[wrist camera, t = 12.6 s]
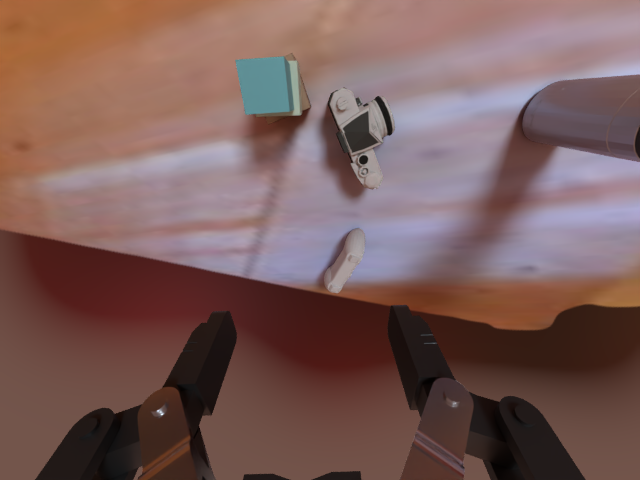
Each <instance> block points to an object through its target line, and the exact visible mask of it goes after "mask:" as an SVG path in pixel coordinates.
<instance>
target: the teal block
mask: <svg viewBox="0 0 640 480" xmlns="http://www.w3.org/2000/svg"><path fill="white" fill-rule="evenodd" d="M235 61H236V66H237V71H238V77H239V82H240V87H241V93H242V98H243V103H244V109H245V114H246V115H247V114H262V113H277V112H290V111H293V110H294V102H293V92H292V82H291V71H290V64H289V62H288V61H287V60H286V59H285V57H284V56H283V57H269V58H255V59H241V60H235Z"/></svg>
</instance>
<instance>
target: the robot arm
mask: <svg viewBox="0 0 640 480" xmlns="http://www.w3.org/2000/svg"><path fill="white" fill-rule="evenodd" d="M522 127H523V132H524V134H525V136H526V137H527V138H528V139H530V140H532V141H534V142H539V143H544V144H549V145H554V146H559V147H564V148H569V149H574V150H579V151H584V152H590V153H595V154H600V155H605V156H610V157H615V158H621V159H626V160H632V161H637V162H640V75H627V76H615V77H602V78H588V79H575V80H563V81H558V82H555V83H553V84H550V85H548V86H547V87H545V88H544V89H542V90H541V91H540V92H539V93H538V94H537V95H536V96H535V97H534V98H533V99H532V101H531V102H530V104H529V105H528V107H527V109H526V111H525V114H524V117H523V124H522ZM388 337H389V341H390V344H391V347H392V351H393V354H394V358H395V361H396V364H397V368H398V371H399V374H400V377H401V381H402V385H403V388H404V391H405V394H406V398H407V401H408V405H409V408H410V410H418V411H419V414H420V417H421V420H420V423H419V426H418V429H417V432H416V434H415V437H414V440H413V443H412V446H411V449H410V452H409V455H408V457H407V460H406V463H405V466H404V469H403V472H402V475H401V478H400V480H463V479H464V467H463V460H464V455H465V453H466V454H469V455H472V456H475V457H477V458H480V459H483V462H484V464H485V467H486V469H487V472H488V474H489V476H490V479H491V480H585V478H584V477H583V475H582V474H581V472H580V471H579V469H578V468H577V466H576V465H575V463H574V462H573V460H572V458H571V457H570V455H569V454H568V453H567V451H566V449H565V448H564V446H563V445H562V444H561V442H560V440H559V439H558V437H557V436H556V434H555V433H554V431H553V430H552V428H551V427H550V425H549V424H548V422H547V421H546V419H545V418H544V416H543V415H542V414H541V413H540V411H539V410H538V409H537V408H535V407H534V406H533V405H532V404H530V403H529V402H527V401H525V400H523V399H521V398H518V397H514V396H507V397H504V398H502V399H501V401H500V402H498V401H494V400H490V399H487V398H484V397H481V396H477V395H475V394H472V393H470V392H469V391H468V390H467V389H466V388H465V387H464V386H463V385H462V384H460V383H459V382H457V381H456V379H455V378H454V376H453V375H452V373H451V370H450V368H449V367H448V365H447V362H446V360H445V358H444V356H443V354H442V352H441V350H440V348H439V346H438V344H437V342H436V340H435V338H434V336H433V334H432V332H431V330H430V328H429V326H428V324H427V323H426V322H425V321H424V320H423V319H422V318H421V317H420V316H412V314H411V312H410V310H409V307H408V306H407V305H391V307H390V313H389V321H388ZM236 339H237V333H236V329H235V326H234V323H233V319H232V316H231V313H230V312H229V311H218V312H217V311H216V312H212V314H211V315H210V317H209V319H208V321H207V323H201V324H200V325H199V326H198V327H197V328H196V329H195V330H194V331H193V332H192V334H191V336H190V338H189V340H188V341H187V344H186V345H185V347H184V349H183V352H182V353H181V354H180V356H179V358H178V360H177V362H176V364H175V366H174V367H173V370H172V371H171V373H170V375H169V377H168V379H167V380H166V382H165V384H164V386H163V387H162V388H161V389H159V390H157V391H155V392H154V393H152V394H151V395H150V396H149V397H148V398H147V399H146V400H145V401H144V402H143V404H141V405H139V406H136V407H133V408H130V409H128V410H125V411H122V412H119V413H116V414H114V413H113V411H112V410H111V409H109V408H101V409H97V410H94V411H92V412H90V413H89V414H87V415H85V416H84V417H83V418H82V419H80V420H79V421H78V422H77V423H76V424H75V425H74V426H73V427H72V428H71V430H70V431H69V432H68V434H67V435H66V436H65V438H64V439H63V441H62V442H61V444H60V445H59V446H58V448H57V450H56V451H55V452H54V454H53V455H52V456H51V458H50V459H49V461H48V462H47V464H46V465H45V467H44V468H43V470H42V471H41V472H40V474H39V475H38V477H37V478H36V479H35V480H133V479H134V477H135V474H136V472H137V470H138V468H139V467H141V466H142V468H143V472H142V475H141V476H139V478H138V480H216V478H215V476H214V474H213V471H212V468H211V464H210V461H209V457H208V454H207V451H206V448H205V444H204V441H203V437H202V434H201V430H200V427H199V424H200V421H201V418H202V416H203V415H212V413H213V410H214V407H215V404H216V401H217V398H218V395H219V392H220V389H221V386H222V383H223V380H224V377H225V374H226V371H227V368H228V365H229V362H230V359H231V356H232V353H233V350H234V347H235V344H236ZM243 480H289V479H286V478H283V477H280V476H278V475H275V474H250V475H249V474H246V475H244V478H243ZM313 480H361V473H360V471H353V472H331V473H328V474H325V475H323V476H320V477H318V478H315V479H313Z"/></svg>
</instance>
